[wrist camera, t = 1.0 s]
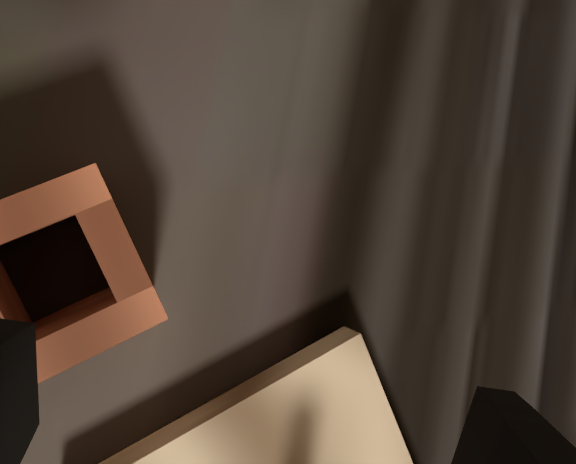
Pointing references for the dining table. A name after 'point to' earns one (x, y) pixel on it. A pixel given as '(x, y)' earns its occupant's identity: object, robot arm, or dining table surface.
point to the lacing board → (288, 416)
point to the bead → (110, 255)
